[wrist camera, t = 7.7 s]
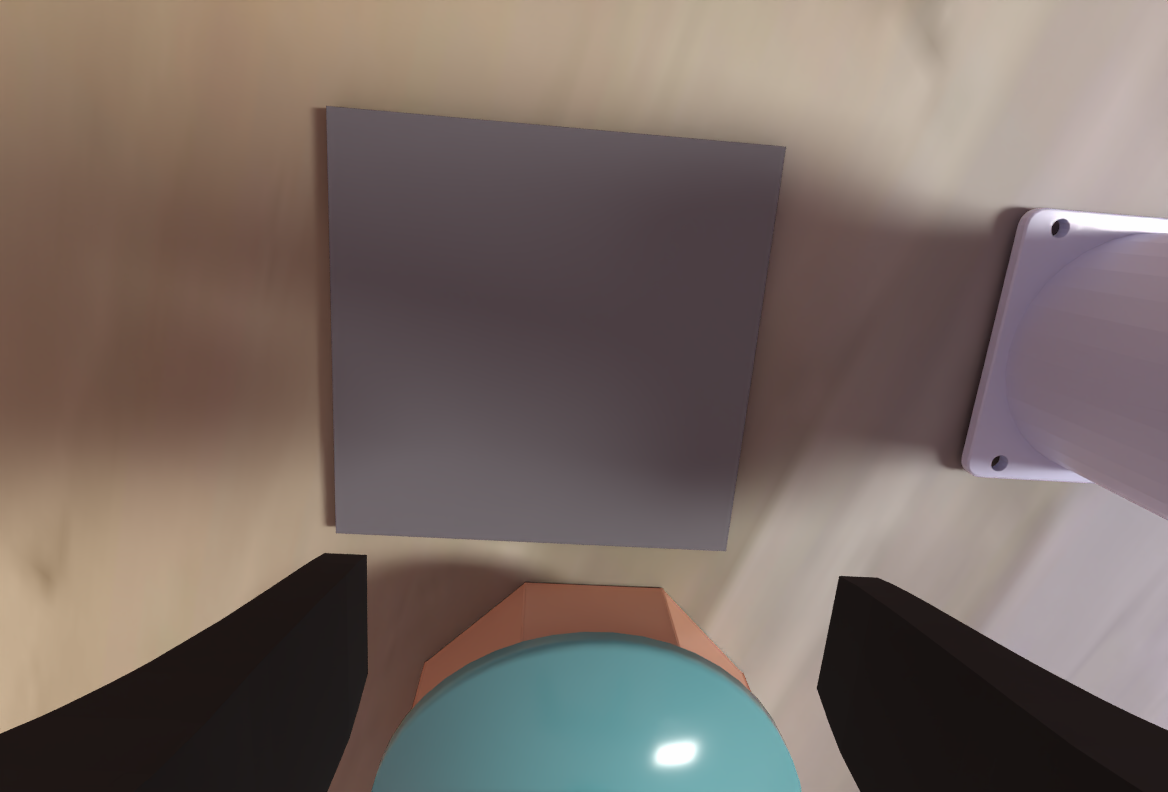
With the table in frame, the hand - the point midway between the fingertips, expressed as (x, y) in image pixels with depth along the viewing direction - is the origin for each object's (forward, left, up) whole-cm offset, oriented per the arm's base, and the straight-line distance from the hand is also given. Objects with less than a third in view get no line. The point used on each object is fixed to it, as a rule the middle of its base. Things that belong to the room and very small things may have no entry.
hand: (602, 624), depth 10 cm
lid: (-1, +11, -6) cm, 12 cm away
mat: (+1, -2, -10) cm, 11 cm away
